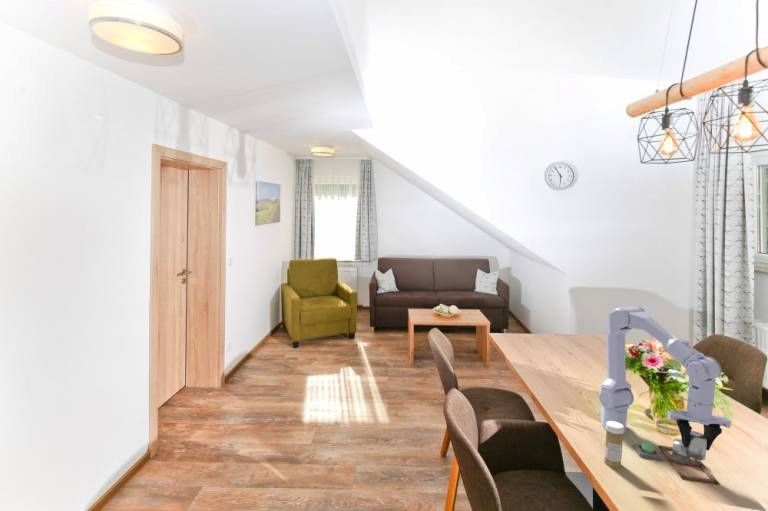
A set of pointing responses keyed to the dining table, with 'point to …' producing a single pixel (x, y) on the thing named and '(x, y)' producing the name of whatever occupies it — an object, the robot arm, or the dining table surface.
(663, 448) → the pallet
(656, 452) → the grey square frame
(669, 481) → the dining table surface
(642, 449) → the button
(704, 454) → the cylinder
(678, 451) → the seated billet
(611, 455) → the sprinkles bottle
